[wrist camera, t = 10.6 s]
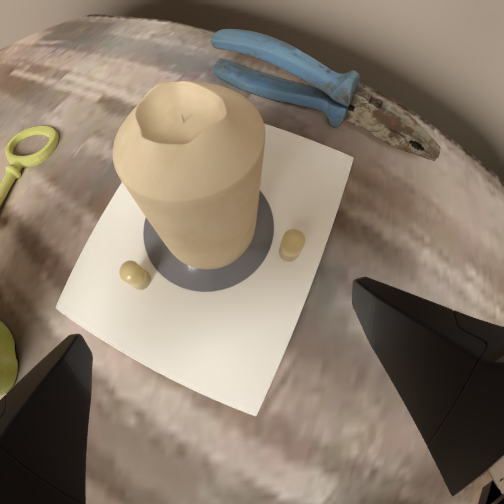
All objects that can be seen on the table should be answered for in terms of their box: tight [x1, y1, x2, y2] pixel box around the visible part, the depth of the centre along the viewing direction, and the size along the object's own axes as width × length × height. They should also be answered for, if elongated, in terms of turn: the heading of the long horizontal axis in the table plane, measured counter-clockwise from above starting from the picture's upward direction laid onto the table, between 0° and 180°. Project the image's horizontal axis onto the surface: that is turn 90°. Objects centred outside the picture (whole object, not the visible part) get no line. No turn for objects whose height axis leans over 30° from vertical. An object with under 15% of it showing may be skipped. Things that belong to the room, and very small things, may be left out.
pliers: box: [211, 29, 440, 161], centre depth 20 cm, size 20×2×6 cm, turn 57°
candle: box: [113, 81, 266, 270], centre depth 13 cm, size 6×6×10 cm
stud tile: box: [56, 124, 354, 416], centre depth 18 cm, size 18×14×3 cm
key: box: [0, 126, 59, 206], centre depth 20 cm, size 7×12×2 cm, turn 5°
